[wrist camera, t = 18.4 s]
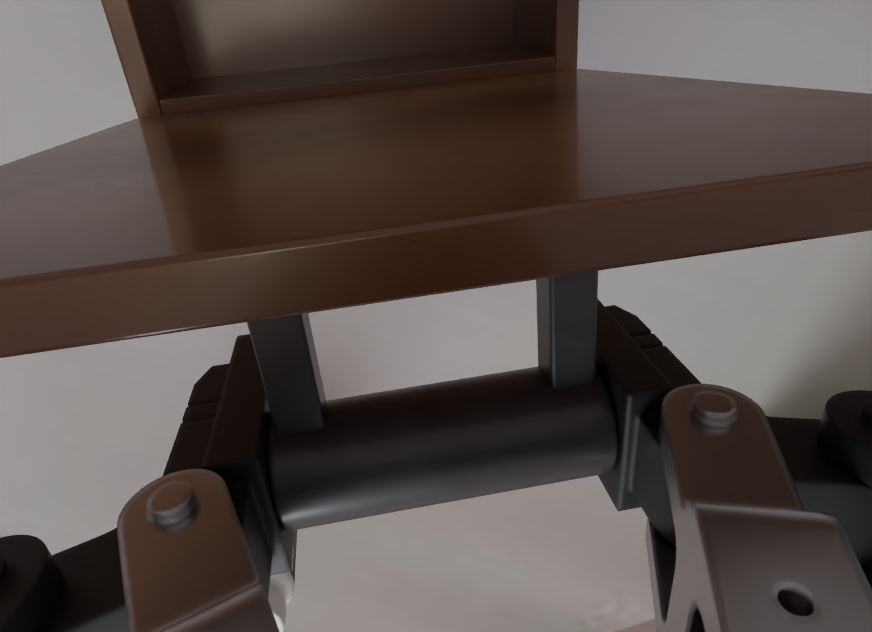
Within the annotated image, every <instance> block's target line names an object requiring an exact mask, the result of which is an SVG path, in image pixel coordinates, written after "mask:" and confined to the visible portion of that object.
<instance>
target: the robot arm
mask: <svg viewBox="0 0 872 632" xmlns="http://www.w3.org/2000/svg"><path fill="white" fill-rule="evenodd" d="M596 368H597V370H598V371H599V372H600V374H601V376H602V378H603V380H604V382H605V384H606V386H607V389H608V391H609V394H610V397H611V400H612V403H613V407H614V411H615V416H616V421H617V428H618V441H619V448H618V457H617V462H616V465H615V467H614V468H613V469H612V470H611V471H610V472H608V473H606V474H600V475H598V476H599V478H600V480H601V482H602V483H603V485H604V487H605V489H606V491H607V492H608V494H609V496H610V498H611V500H612V501H613V503H614V505H615V507H616V508H617V510H618V511H622V510H627V509H633V508H638V507H642V509H643V510H644V512H645V514H646V515H647V517H648V519H647V527H646V545H647V553H648V561H649V570H650V578H651V587H652V595H653V603H654V612H655V620H656V628H657V632H872V391H862V390H858V391H847V392H842V393H839V394H836V395H834V396H833V397H831V398H830V399H829V400H828V402H827V404H826V406H825V410H824V413H823V417H822V420H818V419H799V418H779V417H768V416H765V414H764V412H763V410H762V409H761V408H760V407H759V405H758V404H757V403H755V402H754V401H753V400H752V399H750V398H749V397H747V396H745V395H743V394H741V393H739V392H737V391H735V390H732V389H729V388H726V387H722V386H717V385H711V384H701V383H700V382H699V381H698V379H697V378H696V377H695V376H694V375H693V374H692V373H691V372H690V371H689V370H688V369H687V368H686V367H685V366H684V365H683V364H682V363H681V362H680V361H679V360H678V359H677V358H676V357H675V356H674V354H673V353H672V352H671V351H670V350H669V349H668V348H667V347H666V346H663V345H662V342H661V341H660V340H659V339H658V338H657V337H656V336H655V335H654V334H651V330H650V329H649V328H648V327H647V326H646V325H645V324H644V323H643V322H642V321H641V320H640V319H639V318H638V317H637V316H635V315H633V314H631V313H629V312H627V311H625V310H623V309H621V308H619V307H617V306H615V305H613V306H606V307H604V306H603V304H602V303H601V302H600V301H599V300H598V299H597V331H596ZM269 417H270V410H269V406H268V402H267V398H266V394H265V390H264V386H263V382H262V378H261V374H260V371H259V367H258V363H257V359H256V355H255V351H254V347H253V343H252V339H251V335H250V334H247V335H241V336H238V337H237V339H236V342H235V346H234V350H233V353H232V357H231V361H230V364H224V365H218V366H212V367H211V368H210V369H209V370H208V371H207V372H206V373H205V374H204V375H203V376H202V377H201V378H200V379H199V380H198V381H197V383H196V384H195V385H194V388H193V390H192V393H191V396H190V399H189V402H188V407H187V408H186V411H185V413H184V416H183V419H182V420H183V423H181V425H180V428H179V431H178V434H177V436H176V439H175V442H174V445H173V448H172V451H171V454H170V456H169V459H168V462H167V465H166V468H165V471H164V474H163V477H161V478H158V479H156V480H155V481H153V482H151V483H149V484H148V485H146V486H145V487H143V488H142V489H141V490H140V491H138V492H137V493H136V494H135V495H134V496H133V497H132V498H131V499H130V500H129V501H128V502H127V504H126V505H125V506H124V508H123V509H122V511H121V513H120V515H119V518H118V522H117V528H115V529H114V530H112V531H110V532H108V533H105V534H103V535H101V536H99V537H96V538H94V539H91V540H89V541H87V542H84V543H82V544H79V545H77V546H74V547H72V548H69V549H67V550H64V551H62V552H59V553H57V554H55V555H51V554H50V552H49V550H48V549H47V547H46V545H45V544H44V543H43V542H42V541H41V540H40V539H38V538H37V537H33V536H30V535H12V536H7V537H2V538H0V632H279V629H278V626H277V623H276V621H275V618H274V615H273V612H272V609H271V607H270V604H269V601H268V594H269V585H270V576H271V575H276V574H281V573H287V572H291V564H292V549H293V534H294V530H291V531H290V530H286V529H284V528H283V527H282V526H281V524H280V522H279V520H278V517H277V515H276V511H275V508H274V504H273V500H272V495H271V489H270V483H269V476H268V466H267V448H266V440H267V426H268V421H269Z"/></svg>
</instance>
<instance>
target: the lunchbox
mask: <svg viewBox="0 0 872 632" xmlns="http://www.w3.org/2000/svg"><path fill="white" fill-rule="evenodd" d="M101 2H102V5H103V8H104V11H105V14H106V18H107V21H108V24H109V27H110V30H111V33H112V36H113V40H114V43H115V46H116V49H117V52H118V55H119V58H120V62H121V65H122V68H123V71H124V74H125V77H126V80H127V84H128V87H129V90H130V93H131V96H132V99H133V102H134V106H135V109H136V112H137V115H138V118H139V119H140V118H149V117H158V116H167V115H176V114H185V113H194V112H203V111H212V110H220V109H229V108H238V107H247V106H256V105H265V104H274V103H283V102H292V101H301V100H309V99H318V98H327V97H336V96H345V95H354V94H363V93H372V92H381V91H390V90H398V89H407V88H416V87H425V86H434V85H443V84H452V83H461V82H470V81H478V80H487V79H496V78H505V77H514V76H523V75H532V74H541V73H550V72H559V71H567V70H576V69H577V40H578V7H579V0H101Z"/></svg>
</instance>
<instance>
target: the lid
mask: <svg viewBox="0 0 872 632" xmlns="http://www.w3.org/2000/svg"><path fill="white" fill-rule="evenodd" d="M870 230H872V94H867V93H855V92H843V91H831V90H820V89H808V88H796V87H784V86H773V85H761V84H749V83H737V82H726V81H714V80H702V79H690V78H679V77H667V76H655V75H643V74H632V73H620V72H608V71H596V70H585V69H576V70H567V71H559V72H550V73H541V74H532V75H523V76H514V77H505V78H496V79H487V80H478V81H470V82H461V83H452V84H443V85H434V86H425V87H416V88H407V89H398V90H390V91H381V92H372V93H363V94H354V95H345V96H336V97H327V98H318V99H309V100H301V101H292V102H283V103H274V104H265V105H256V106H247V107H238V108H229V109H220V110H212V111H203V112H194V113H185V114H176V115H167V116H158V117H149V118H140V119H134V120H131V121H128V122H126V123H123V124H120V125H117V126H114V127H111V128H108V129H105V130H103V131H100V132H97V133H94V134H91V135H88V136H85V137H82V138H80V139H77V140H74V141H71V142H68V143H65V144H62V145H59V146H56V147H54V148H51V149H48V150H45V151H42V152H39V153H36V154H33V155H31V156H28V157H25V158H22V159H19V160H16V161H13V162H10V163H8V164H5V165H2V166H0V358H4V357H10V356H17V355H24V354H31V353H38V352H44V351H51V350H58V349H65V348H72V347H79V346H85V345H92V344H99V343H106V342H113V341H119V340H126V339H133V338H140V337H147V336H154V335H160V334H167V333H174V332H181V331H188V330H194V329H201V328H208V327H215V326H222V325H229V324H235V323H242V322H247V324H248V328H249V331H250V335H251V339H252V343H253V347H254V351H255V355H256V359H257V363H258V367H259V371H260V374H261V378H262V382H263V386H264V390H265V394H266V398H267V402H268V406H269V410H270V417H269V421H268V426H267V440H266V448H267V466H268V476H269V483H270V489H271V495H272V500H273V504H274V508H275V511H276V515H277V517H278V520H279V522H280V524H281V526H282V527H283V528H284V529H286V530H290V531H291V530H297V529H302V528H308V527H313V526H319V525H324V524H330V523H335V522H341V521H346V520H352V519H357V518H363V517H368V516H374V515H379V514H385V513H391V512H396V511H402V510H407V509H413V508H418V507H424V506H429V505H435V504H440V503H446V502H451V501H457V500H462V499H468V498H473V497H479V496H484V495H490V494H495V493H501V492H507V491H512V490H518V489H523V488H529V487H534V486H540V485H545V484H551V483H556V482H562V481H567V480H573V479H578V478H584V477H589V476H595V475H600V474H606V473H608V472H610V471H611V470H612V469H613V468H614V467H615V465H616V462H617V457H618V448H619V441H618V428H617V421H616V416H615V411H614V407H613V403H612V400H611V397H610V394H609V391H608V389H607V386H606V384H605V382H604V380H603V378H602V376H601V374H600V372H599V371H598V370H597V368H596V331H597V287H598V270H604V269H611V268H617V267H624V266H631V265H638V264H645V263H651V262H658V261H665V260H672V259H679V258H686V257H692V256H699V255H706V254H713V253H720V252H726V251H733V250H740V249H747V248H754V247H761V246H767V245H774V244H781V243H788V242H795V241H801V240H808V239H815V238H822V237H829V236H836V235H842V234H849V233H856V232H863V231H870ZM535 279H536V285H537V326H538V367H533V368H527V369H521V370H514V371H508V372H502V373H496V374H490V375H483V376H477V377H471V378H465V379H459V380H452V381H446V382H440V383H434V384H428V385H421V386H415V387H409V388H403V389H397V390H390V391H384V392H378V393H372V394H366V395H359V396H353V397H347V398H341V399H335V400H328V401H326V399H325V394H324V390H323V385H322V380H321V375H320V370H319V365H318V360H317V356H316V351H315V346H314V341H313V336H312V331H311V326H310V322H309V317H308V313H310V312H317V311H324V310H331V309H338V308H345V307H351V306H358V305H365V304H372V303H379V302H385V301H392V300H399V299H406V298H413V297H420V296H426V295H433V294H440V293H447V292H454V291H460V290H467V289H474V288H481V287H488V286H495V285H501V284H508V283H515V282H522V281H529V280H535Z"/></svg>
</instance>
